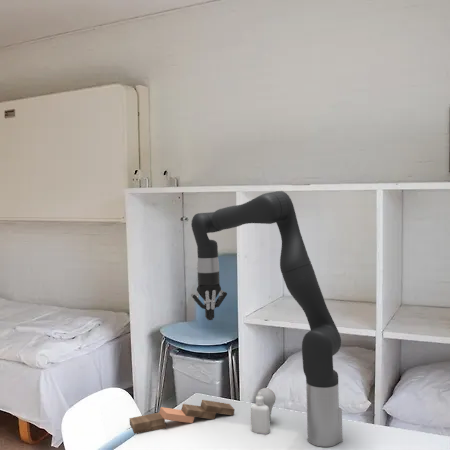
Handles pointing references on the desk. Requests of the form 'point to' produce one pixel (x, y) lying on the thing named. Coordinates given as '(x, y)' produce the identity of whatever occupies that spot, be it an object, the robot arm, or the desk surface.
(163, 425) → the domino
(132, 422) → the domino
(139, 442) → the desk surface
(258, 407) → the eye dropper bottle
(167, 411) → the domino
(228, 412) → the domino
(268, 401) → the lightbulb
